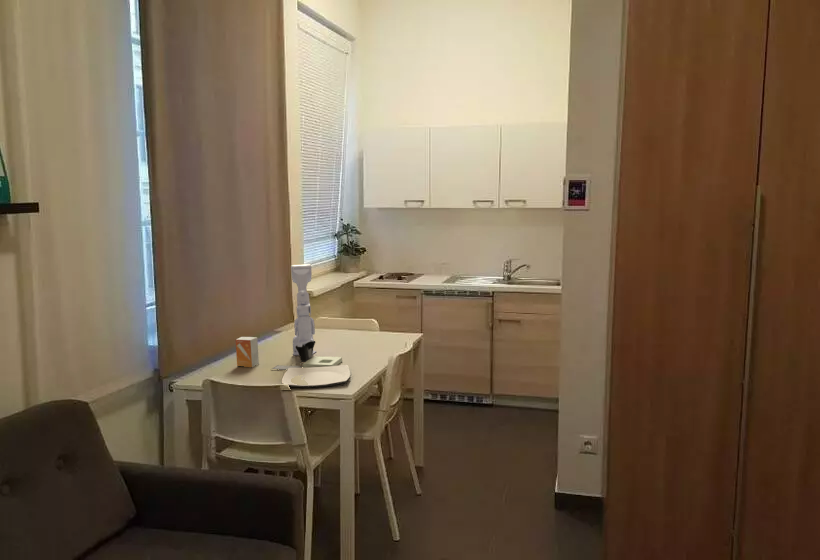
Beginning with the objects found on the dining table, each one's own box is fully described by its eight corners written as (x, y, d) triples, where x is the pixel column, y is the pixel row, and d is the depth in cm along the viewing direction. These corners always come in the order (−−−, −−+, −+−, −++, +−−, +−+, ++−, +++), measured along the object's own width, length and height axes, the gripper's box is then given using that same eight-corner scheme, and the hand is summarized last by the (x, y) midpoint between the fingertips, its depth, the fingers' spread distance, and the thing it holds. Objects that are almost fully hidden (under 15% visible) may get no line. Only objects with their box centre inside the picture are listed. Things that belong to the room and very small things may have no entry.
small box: (236, 366, 315) (234, 339, 313) (244, 363, 321) (242, 336, 319) (252, 367, 312) (250, 339, 310) (259, 364, 318) (257, 336, 316)
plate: (286, 373, 303) (286, 367, 302) (350, 369, 304) (350, 363, 304) (278, 391, 274) (278, 385, 274) (349, 387, 276) (349, 381, 276)
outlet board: (302, 368, 308) (302, 364, 308) (314, 360, 321) (313, 356, 321) (331, 369, 304) (331, 364, 304) (342, 361, 318) (342, 357, 318)
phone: (270, 371, 307) (270, 369, 307) (277, 367, 314) (277, 365, 313) (297, 372, 304) (297, 369, 304) (303, 368, 310) (303, 365, 310)
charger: (301, 362, 319) (300, 348, 318) (304, 360, 322) (303, 346, 322) (309, 362, 318) (308, 348, 317) (312, 360, 322) (311, 346, 321)
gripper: (306, 333, 310) (308, 362, 312) (318, 327, 324) (320, 354, 326) (292, 333, 312) (294, 362, 314) (304, 326, 326) (306, 354, 328)
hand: (306, 358), depth 320 cm, fingers open, 7 cm apart
